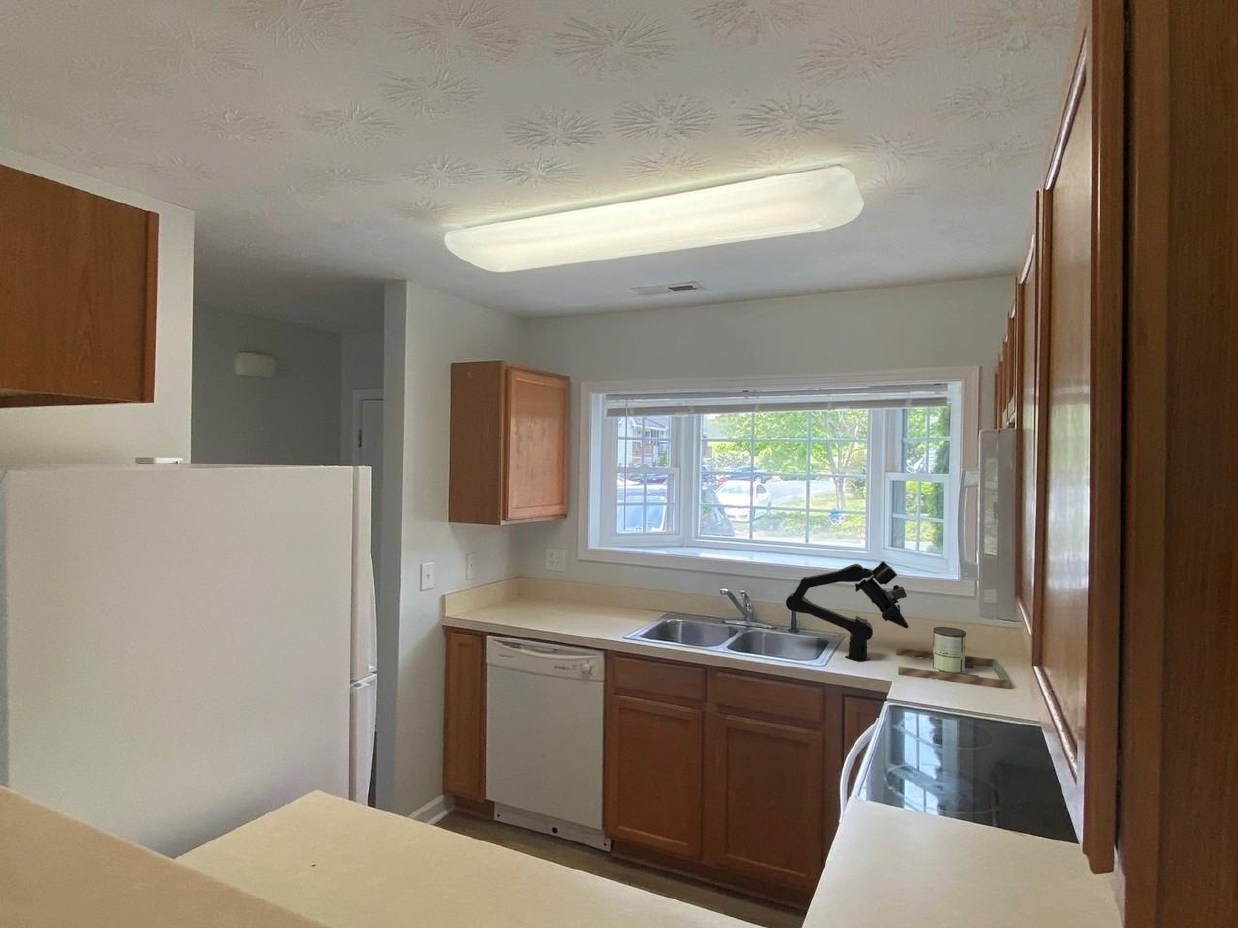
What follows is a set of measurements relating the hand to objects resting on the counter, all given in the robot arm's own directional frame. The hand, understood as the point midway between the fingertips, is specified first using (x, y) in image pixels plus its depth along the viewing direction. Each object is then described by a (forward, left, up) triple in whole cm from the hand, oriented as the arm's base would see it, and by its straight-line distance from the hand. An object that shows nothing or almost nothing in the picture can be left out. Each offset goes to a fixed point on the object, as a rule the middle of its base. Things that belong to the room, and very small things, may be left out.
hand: (907, 626), depth 243 cm
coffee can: (+8, -11, -14) cm, 19 cm away
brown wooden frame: (+7, -11, -14) cm, 19 cm away
